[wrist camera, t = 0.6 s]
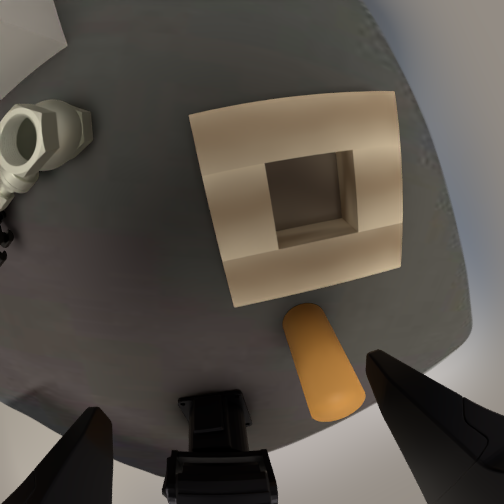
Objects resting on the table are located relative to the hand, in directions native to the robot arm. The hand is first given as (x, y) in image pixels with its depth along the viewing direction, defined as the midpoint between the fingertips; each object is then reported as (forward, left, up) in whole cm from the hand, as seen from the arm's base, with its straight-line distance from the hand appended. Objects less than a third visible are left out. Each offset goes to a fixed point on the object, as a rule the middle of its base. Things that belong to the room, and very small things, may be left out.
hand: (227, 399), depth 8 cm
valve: (+8, +12, -14) cm, 20 cm away
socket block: (+2, -6, -13) cm, 15 cm away
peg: (-9, -5, -13) cm, 17 cm away
